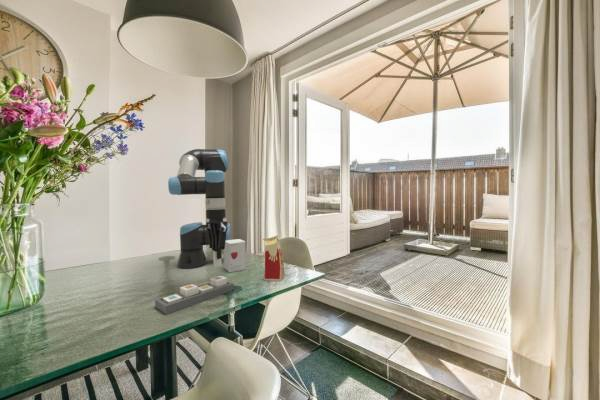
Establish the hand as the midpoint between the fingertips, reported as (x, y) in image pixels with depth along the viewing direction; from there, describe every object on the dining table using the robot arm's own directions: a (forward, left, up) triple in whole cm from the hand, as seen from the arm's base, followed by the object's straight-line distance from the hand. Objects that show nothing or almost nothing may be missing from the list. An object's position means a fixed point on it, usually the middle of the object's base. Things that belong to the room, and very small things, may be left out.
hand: (217, 266), depth 107 cm
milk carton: (+6, +25, -11) cm, 28 cm away
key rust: (0, -12, -8) cm, 14 cm away
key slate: (0, 0, -8) cm, 8 cm away
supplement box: (-20, +22, -11) cm, 32 cm away
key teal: (0, -18, -10) cm, 21 cm away
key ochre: (0, -6, -10) cm, 11 cm away
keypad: (0, -9, -10) cm, 14 cm away
